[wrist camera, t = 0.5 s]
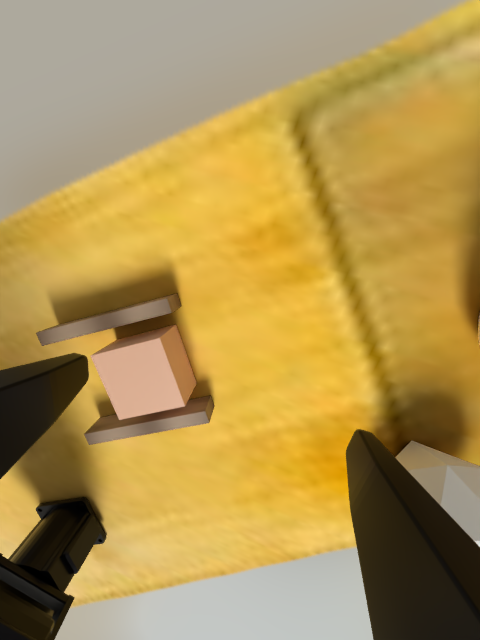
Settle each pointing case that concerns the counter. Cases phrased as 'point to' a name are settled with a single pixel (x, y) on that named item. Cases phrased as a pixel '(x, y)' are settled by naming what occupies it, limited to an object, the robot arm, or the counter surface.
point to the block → (146, 372)
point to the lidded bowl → (479, 329)
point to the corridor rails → (155, 422)
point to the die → (447, 483)
